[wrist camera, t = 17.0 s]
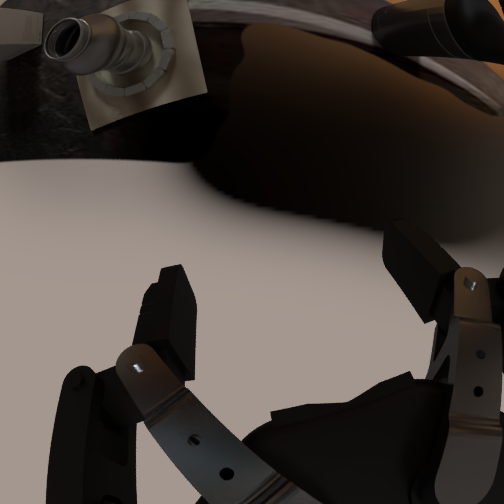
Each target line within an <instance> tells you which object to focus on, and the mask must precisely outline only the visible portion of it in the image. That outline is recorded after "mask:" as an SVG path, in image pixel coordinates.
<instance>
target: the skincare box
mask: <svg viewBox="0 0 504 504" xmlns="http://www.w3.org/2000/svg"><path fill="white" fill-rule="evenodd" d="M42 26H43V13H37V12H31V11H24V10H16V9H7V8H0V61H6V60H11V59H13V58H15V57H17V56H19V55H21V54H23V53H25V52H27V51H29V50H31V49H34V48H36V47H38V46H40V45H41V42H42Z"/></svg>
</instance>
